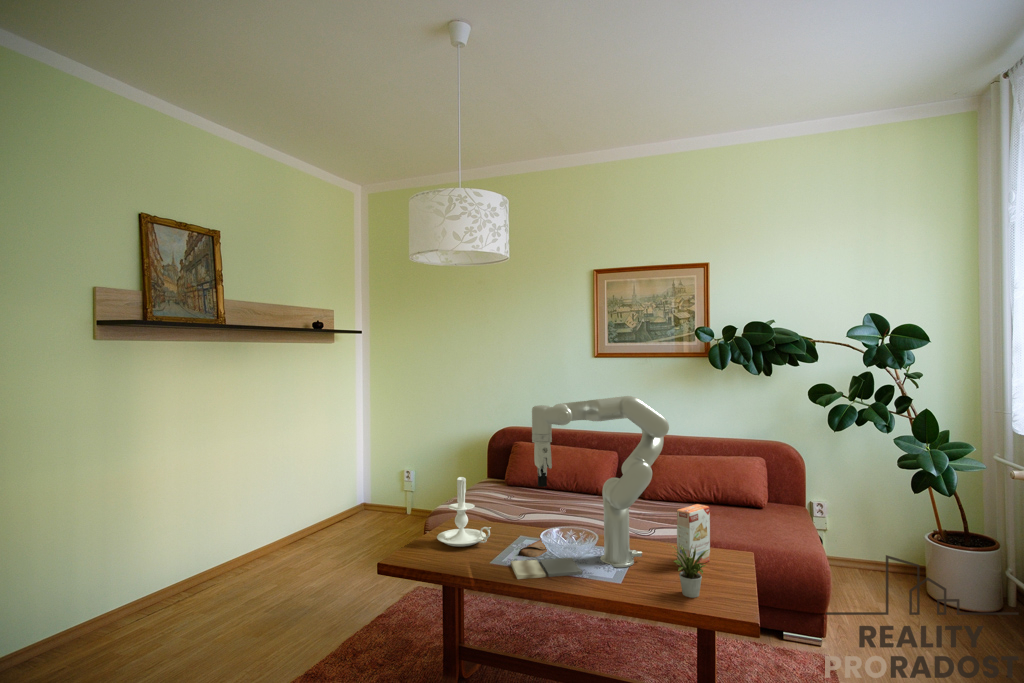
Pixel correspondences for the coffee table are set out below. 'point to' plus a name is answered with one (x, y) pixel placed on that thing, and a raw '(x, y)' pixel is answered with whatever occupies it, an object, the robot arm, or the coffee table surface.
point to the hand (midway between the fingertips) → (542, 486)
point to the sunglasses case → (533, 549)
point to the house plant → (690, 573)
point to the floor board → (560, 567)
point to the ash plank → (528, 569)
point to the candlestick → (462, 522)
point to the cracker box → (694, 532)
